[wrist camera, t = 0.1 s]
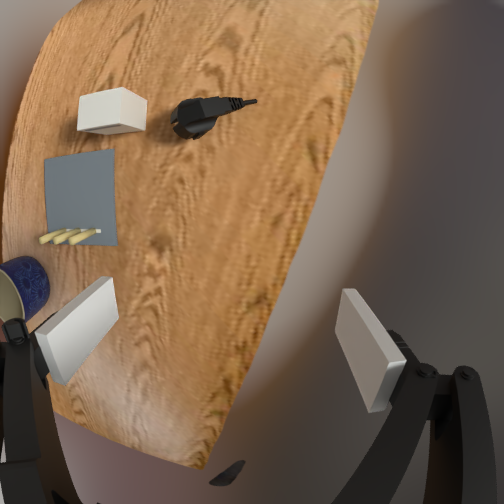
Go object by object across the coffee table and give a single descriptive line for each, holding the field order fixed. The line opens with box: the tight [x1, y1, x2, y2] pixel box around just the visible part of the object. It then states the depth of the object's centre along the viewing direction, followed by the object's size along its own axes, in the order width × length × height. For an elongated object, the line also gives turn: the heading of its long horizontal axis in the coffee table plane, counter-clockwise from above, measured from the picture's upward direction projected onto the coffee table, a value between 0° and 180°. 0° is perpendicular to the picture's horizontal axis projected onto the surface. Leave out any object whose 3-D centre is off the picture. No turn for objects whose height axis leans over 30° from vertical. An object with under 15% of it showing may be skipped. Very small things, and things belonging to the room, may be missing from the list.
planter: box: [0, 256, 50, 323], centre depth 41 cm, size 12×12×11 cm
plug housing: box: [77, 87, 147, 135], centre depth 33 cm, size 5×7×9 cm
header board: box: [39, 149, 118, 246], centre depth 38 cm, size 16×16×7 cm
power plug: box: [171, 96, 257, 140], centre depth 36 cm, size 6×8×12 cm
